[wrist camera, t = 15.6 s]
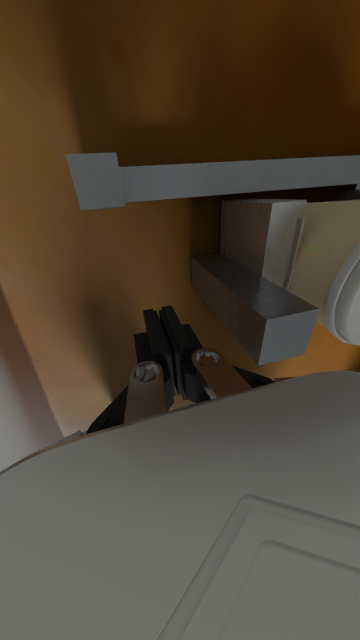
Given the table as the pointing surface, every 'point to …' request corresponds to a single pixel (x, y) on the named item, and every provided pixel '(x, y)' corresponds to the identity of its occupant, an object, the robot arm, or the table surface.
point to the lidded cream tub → (331, 266)
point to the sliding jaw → (258, 278)
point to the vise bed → (206, 178)
